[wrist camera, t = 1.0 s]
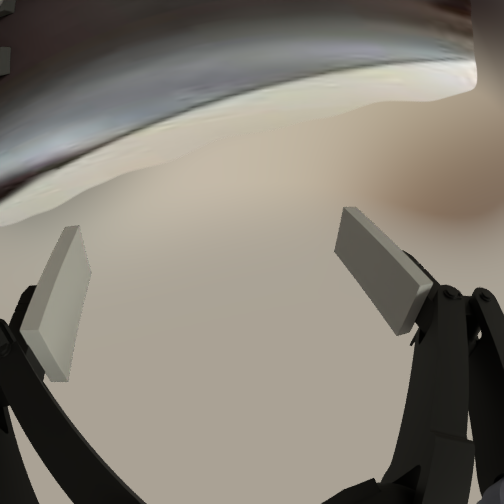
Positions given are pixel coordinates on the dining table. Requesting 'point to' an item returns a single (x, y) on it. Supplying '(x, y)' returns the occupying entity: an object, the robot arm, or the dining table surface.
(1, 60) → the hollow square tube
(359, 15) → the dining table surface
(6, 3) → the cradle grey
